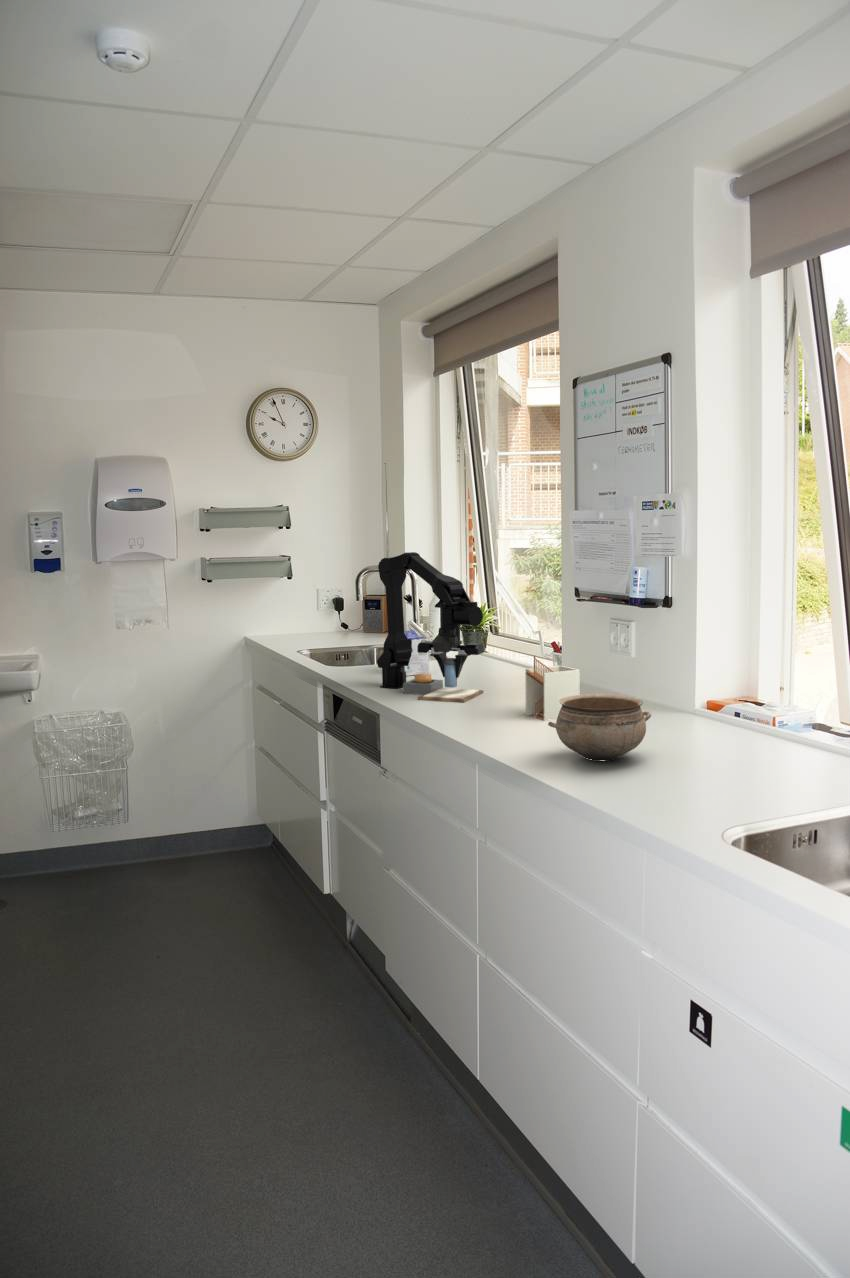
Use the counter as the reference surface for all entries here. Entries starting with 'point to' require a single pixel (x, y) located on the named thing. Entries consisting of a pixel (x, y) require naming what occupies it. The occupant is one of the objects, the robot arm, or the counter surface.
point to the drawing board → (451, 695)
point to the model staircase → (549, 689)
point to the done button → (422, 678)
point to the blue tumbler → (450, 672)
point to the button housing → (421, 686)
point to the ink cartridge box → (417, 657)
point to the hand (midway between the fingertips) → (450, 677)
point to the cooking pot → (601, 725)
